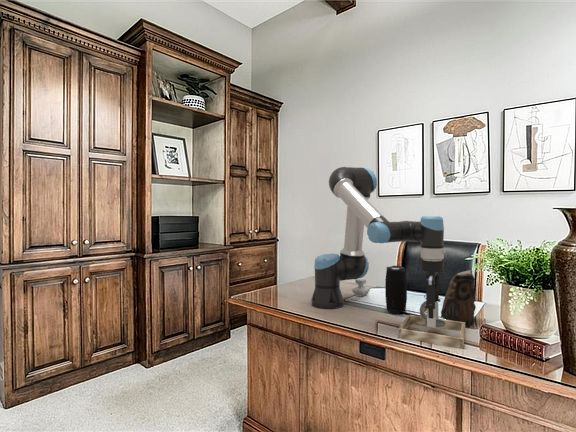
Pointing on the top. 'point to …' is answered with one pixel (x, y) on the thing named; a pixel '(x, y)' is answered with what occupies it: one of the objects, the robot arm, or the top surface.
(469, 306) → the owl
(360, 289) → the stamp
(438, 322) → the pocket watch
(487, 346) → the top surface
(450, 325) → the box
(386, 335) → the top surface
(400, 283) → the portable speaker
